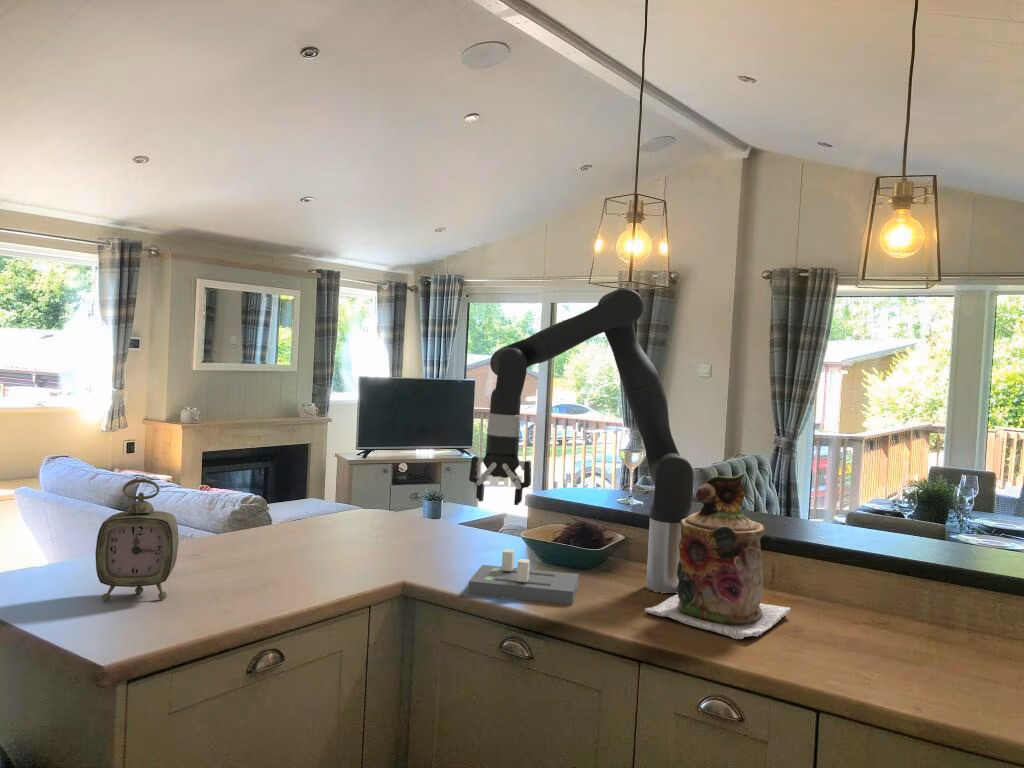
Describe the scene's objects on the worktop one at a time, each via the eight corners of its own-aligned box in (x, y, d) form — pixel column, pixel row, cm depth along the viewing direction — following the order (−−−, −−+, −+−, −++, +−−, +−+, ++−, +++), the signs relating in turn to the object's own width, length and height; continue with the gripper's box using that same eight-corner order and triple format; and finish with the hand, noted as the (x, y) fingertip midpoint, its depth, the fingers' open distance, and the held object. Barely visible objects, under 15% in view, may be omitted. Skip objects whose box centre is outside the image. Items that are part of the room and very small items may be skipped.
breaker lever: (513, 568, 182) (514, 549, 182) (511, 571, 179) (512, 552, 179) (503, 567, 183) (504, 548, 182) (501, 570, 180) (502, 551, 180)
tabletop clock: (93, 604, 151) (98, 482, 151) (104, 591, 160) (109, 475, 159) (170, 602, 155) (175, 482, 155) (177, 589, 164) (182, 476, 163)
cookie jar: (691, 592, 181) (698, 461, 181) (793, 617, 166) (801, 474, 165) (640, 615, 162) (648, 469, 162) (750, 646, 147) (759, 484, 146)
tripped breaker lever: (528, 578, 173) (529, 559, 173) (526, 582, 170) (527, 562, 170) (518, 577, 174) (519, 558, 174) (516, 581, 171) (517, 561, 171)
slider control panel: (578, 586, 181) (578, 573, 181) (572, 605, 167) (573, 591, 167) (481, 576, 186) (482, 564, 186) (468, 594, 171) (468, 580, 171)
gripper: (536, 435, 175) (531, 503, 176) (477, 429, 178) (472, 497, 178) (530, 437, 168) (525, 508, 168) (469, 432, 171) (464, 502, 171)
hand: (498, 502), depth 173 cm, fingers open, 8 cm apart
